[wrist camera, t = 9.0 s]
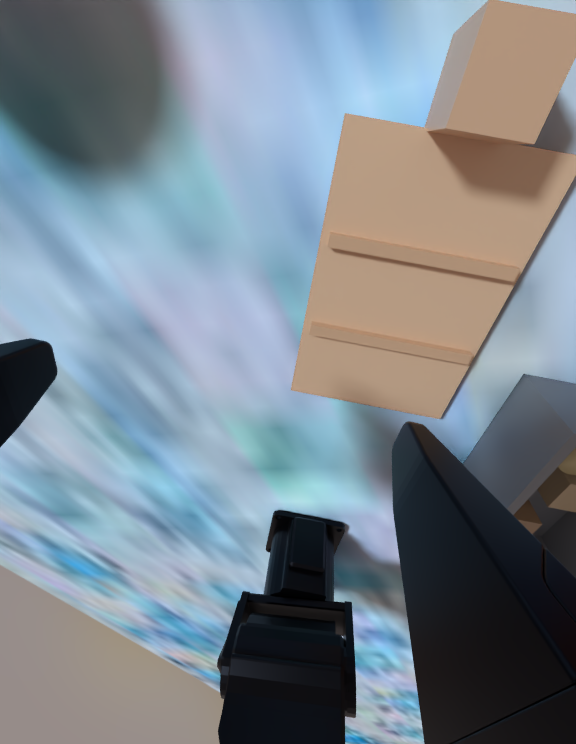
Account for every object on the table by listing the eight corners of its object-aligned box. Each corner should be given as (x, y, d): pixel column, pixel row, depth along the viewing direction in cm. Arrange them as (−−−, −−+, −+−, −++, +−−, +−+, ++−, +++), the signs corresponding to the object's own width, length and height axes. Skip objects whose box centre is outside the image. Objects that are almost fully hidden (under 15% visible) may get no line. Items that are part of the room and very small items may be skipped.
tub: (539, 532, 27) (575, 600, 23) (431, 511, 28) (448, 574, 23) (675, 403, 20) (766, 470, 16) (523, 374, 20) (573, 433, 16)
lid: (436, 411, 22) (452, 451, 19) (292, 383, 22) (285, 419, 19) (624, 64, 12) (714, 38, 9) (363, 18, 12) (371, -22, 10)
